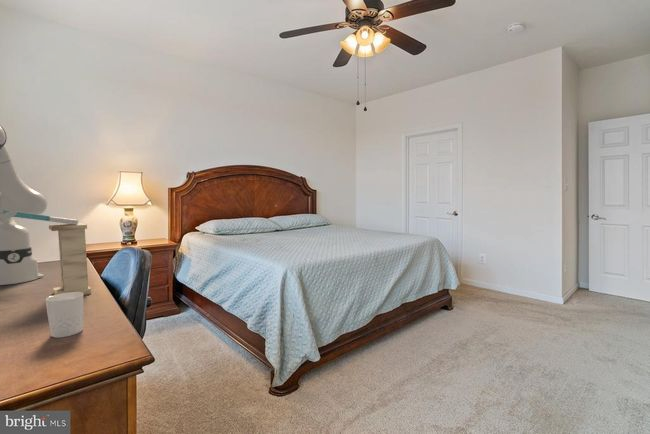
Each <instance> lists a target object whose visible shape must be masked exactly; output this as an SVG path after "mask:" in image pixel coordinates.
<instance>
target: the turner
mask: <svg viewBox="0 0 650 434" xmlns="http://www.w3.org/2000/svg"><path fill="white" fill-rule="evenodd" d="M7 212H9V211H7V210H3V214H4V213H7ZM16 213H17V214H16V215H15V216H12V217H13V218H20V219H29V220H37V221H46V222H51V223H57V224H58V223H59V224H74V225H77V224H78V223H79V220H78V219H74V218H65V217H58V216H51V215H44V214H30V213H23V212H16Z"/></svg>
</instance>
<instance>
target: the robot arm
mask: <svg viewBox="0 0 650 434" xmlns="http://www.w3.org/2000/svg"><path fill="white" fill-rule="evenodd" d="M6 142H7V133H6V131H5V129H4V128H3V127H2V126H1V125H0V286H4V285H5V286H6V285H14V284H15V285H16V284H21V283H26V282H31V281H34V280H37V279H41V278H45V276H44V275H45V274H43V273H40V272H39V268H38V267H39V266H38V260H37V259H36V258H35V257H33V256H32V255H33V249H32V247H31V243H30V241H31V240H30V231H29V230H28V228H27V227H26V226H22V225H20V224H18V223H17V222H16V221H15V219H14V217H12V216H15V215H16V214H17V213H16V212H23V213H30V214H38V215H43V213H44V212H45V211H46V209H47V207H48V203H47V199H46V197H45V196H44V195H43V194H42V193H40V192H38V191H36V190H34V189H33V188H31V187H30V186H28V185H27V184H26V183H25V182H24V181H23V179H21V177H20V175H19V174H18V171H17V170H16V168H15V165H14V162H13V159H12V157H11V153H10V152H9V148H7V146H6ZM3 210H7V211H9V212H7V213H4V214H3Z"/></svg>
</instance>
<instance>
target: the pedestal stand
mask: <svg viewBox="0 0 650 434" xmlns="http://www.w3.org/2000/svg"><path fill="white" fill-rule="evenodd" d="M48 229H49V230H50V231H51V232H56V231H57V233H58V234H57V236H58V246H59V247H58V249H59V250H58V251H59V261H60V262H59V263H60V265H59V266H60V277H61V286H56V287H52V293H53V295H56V294H61V293H67V292H82V293H83V296H86V295H90V294H92V288H91V287H90V286H89V276H88V275H89V273H88V259H87V243H86V242H87V241H86V230H87V229H88V224H85V223H83V222H78V224H77V225H74V224H66V223H59V224H58V223H56V224H54V223H53V224H48Z"/></svg>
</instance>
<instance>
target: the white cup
mask: <svg viewBox="0 0 650 434" xmlns="http://www.w3.org/2000/svg"><path fill="white" fill-rule="evenodd" d="M45 306H46V315H47V320H48V326H49V330H50V335H51V338H56V339H57V338H58V339H59V338H66V337H71V336H74V335H77V334H79V333H81V332H82V331H83V330H84V295H83V293H82V292H67V293H61V294H56V295H54V294H53V295H50V296H48V297H46V298H45Z"/></svg>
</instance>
